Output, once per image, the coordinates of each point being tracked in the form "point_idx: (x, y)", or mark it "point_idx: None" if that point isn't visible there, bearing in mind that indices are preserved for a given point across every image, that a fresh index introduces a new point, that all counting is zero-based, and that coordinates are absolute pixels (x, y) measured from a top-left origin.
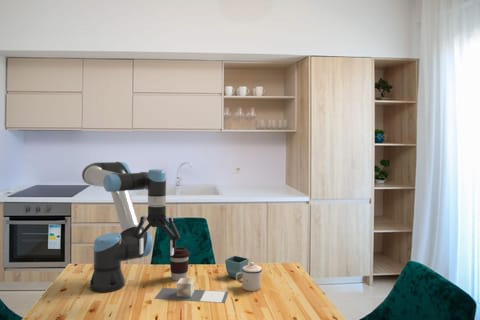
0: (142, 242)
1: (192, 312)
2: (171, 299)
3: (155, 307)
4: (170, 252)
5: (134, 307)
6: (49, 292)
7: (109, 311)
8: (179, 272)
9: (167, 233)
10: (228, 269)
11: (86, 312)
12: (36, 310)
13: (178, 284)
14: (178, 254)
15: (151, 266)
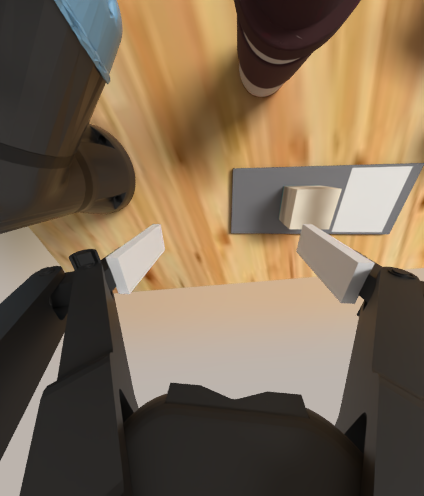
0: (137, 260)
1: None
2: (268, 232)
3: (242, 258)
4: (303, 258)
5: (207, 261)
6: None
7: (175, 277)
8: (279, 84)
9: (355, 354)
10: None
11: (146, 283)
12: None
13: (292, 228)
14: (306, 26)
15: None
